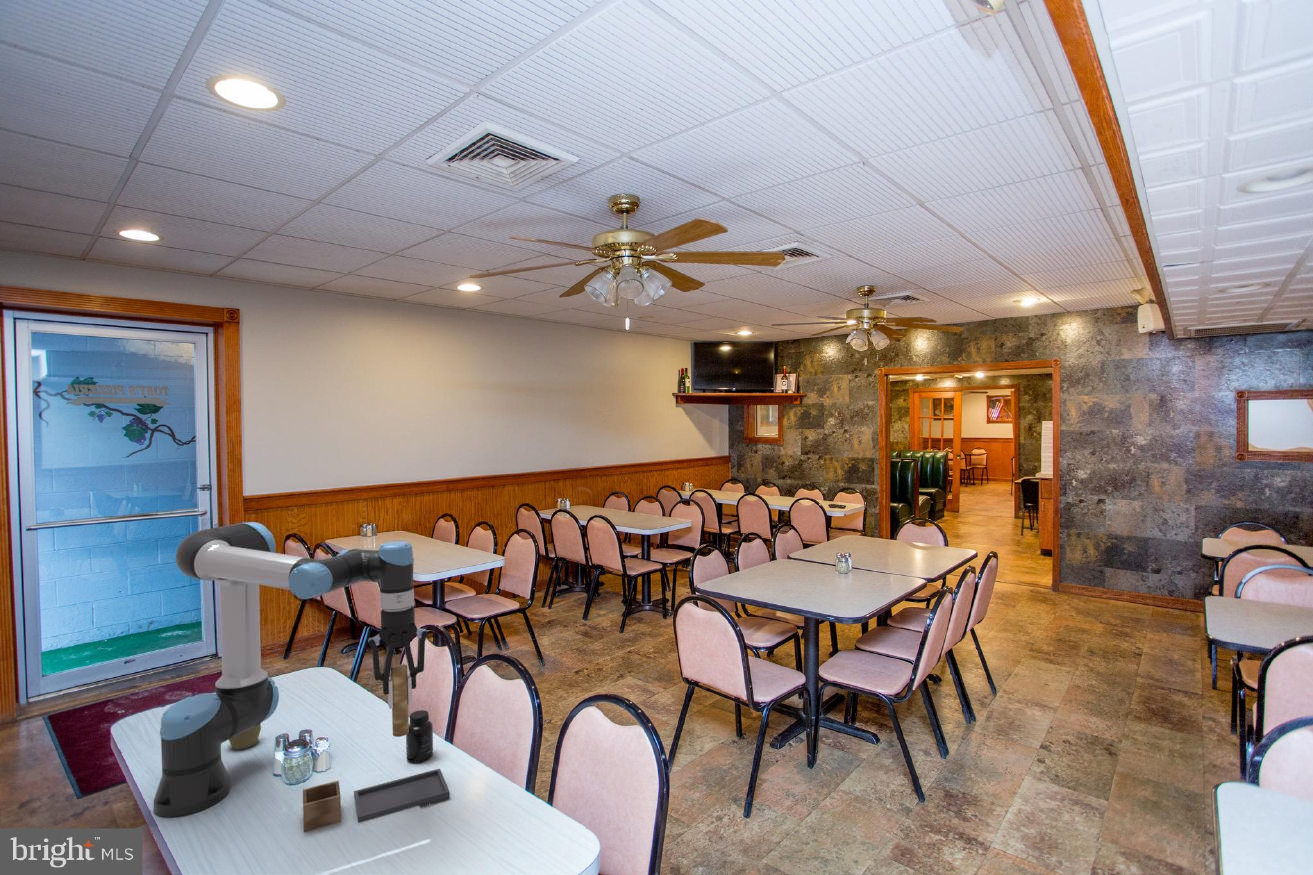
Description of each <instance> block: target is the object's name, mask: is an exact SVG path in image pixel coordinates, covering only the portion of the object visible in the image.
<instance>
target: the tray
mask: <svg viewBox="0 0 1313 875" xmlns="http://www.w3.org/2000/svg"><path fill="white" fill-rule="evenodd" d="M450 791H451V790H450V789H449V787H448V784H447V782H446V779H445V777H444V775H443V773H442V770H441V768H436V769H432V770H429V771H424V772H421V773H417V774H414V775H411V776H409V775H408V776H407V777H403V778H399V779H396V780H395V779H394V780H391V781H388V782H384V783H380V784H375V785H372V786H368V787H364V788H362V789H361V788H360V789H358V790H354V791H353V798H354V803H355V810H356V818H357V823H361V822H364V821H365V822H366V821H368V820H372V819H376V818H379V817H382V816H385V815H386V816H387V815H390V814H392V813H396V812H400V811H403V810H406V809H407V810H408V809H410V808H414V807H417V806H419V808H423V807H427V806H430V805H433V804H436V803H441V802H444V801H447V800H450V799H451V798H450V793H451V792H450ZM429 804H430V805H429Z"/></svg>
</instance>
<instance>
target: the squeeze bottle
mask: <svg viewBox="0 0 1313 875" xmlns="http://www.w3.org/2000/svg"><path fill="white" fill-rule="evenodd" d="M261 724H262V723H261ZM261 724H259V725H258V726H256V727H253V728H251V729H249V730H247V731H245V732H243V733H241V734H239V735H237V736H235V737H233V738H231V739H229V740H228V741H229V743H230V746H231V748H232V749H234V750H244V749H247V748H251V747H253V746H255V744H257V743H258V740H259V736H260V732H261V729H262V726H261Z"/></svg>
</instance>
